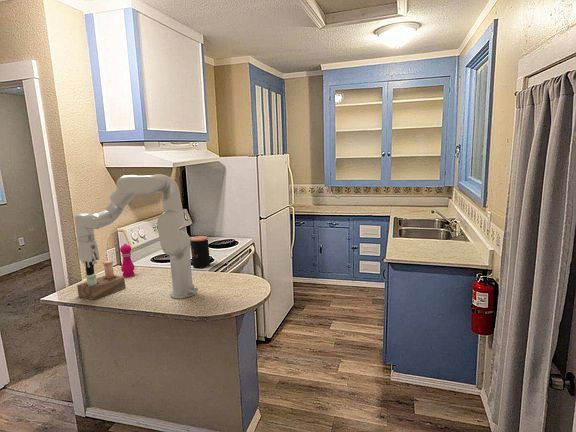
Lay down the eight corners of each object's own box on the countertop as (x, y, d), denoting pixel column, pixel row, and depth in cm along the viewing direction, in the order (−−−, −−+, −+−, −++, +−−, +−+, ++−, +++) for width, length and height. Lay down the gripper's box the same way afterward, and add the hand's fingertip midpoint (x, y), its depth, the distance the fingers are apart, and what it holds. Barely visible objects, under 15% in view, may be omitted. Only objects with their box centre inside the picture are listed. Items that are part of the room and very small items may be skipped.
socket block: (125, 287, 194) (124, 276, 193) (93, 300, 178) (92, 288, 177) (110, 284, 200) (109, 274, 199) (78, 296, 184) (77, 285, 183)
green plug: (100, 293, 186) (98, 273, 184) (92, 296, 181) (89, 276, 180) (94, 292, 188) (92, 272, 186) (86, 295, 184) (83, 275, 182)
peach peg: (117, 279, 194) (114, 260, 192) (109, 282, 189) (106, 263, 188) (111, 278, 196) (108, 259, 194) (103, 281, 192) (100, 262, 190)
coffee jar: (191, 265, 230) (188, 237, 227) (208, 262, 235) (205, 235, 232) (194, 269, 221) (191, 240, 218) (211, 267, 225) (209, 238, 222)
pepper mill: (119, 276, 213) (115, 243, 210) (129, 273, 219) (126, 240, 216) (127, 278, 210) (123, 244, 207) (138, 274, 216) (134, 241, 213)
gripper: (102, 237, 180) (107, 274, 183) (83, 235, 187) (88, 270, 190) (88, 241, 173) (93, 278, 176) (69, 238, 180) (74, 274, 183)
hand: (90, 274), depth 183 cm, fingers closed
